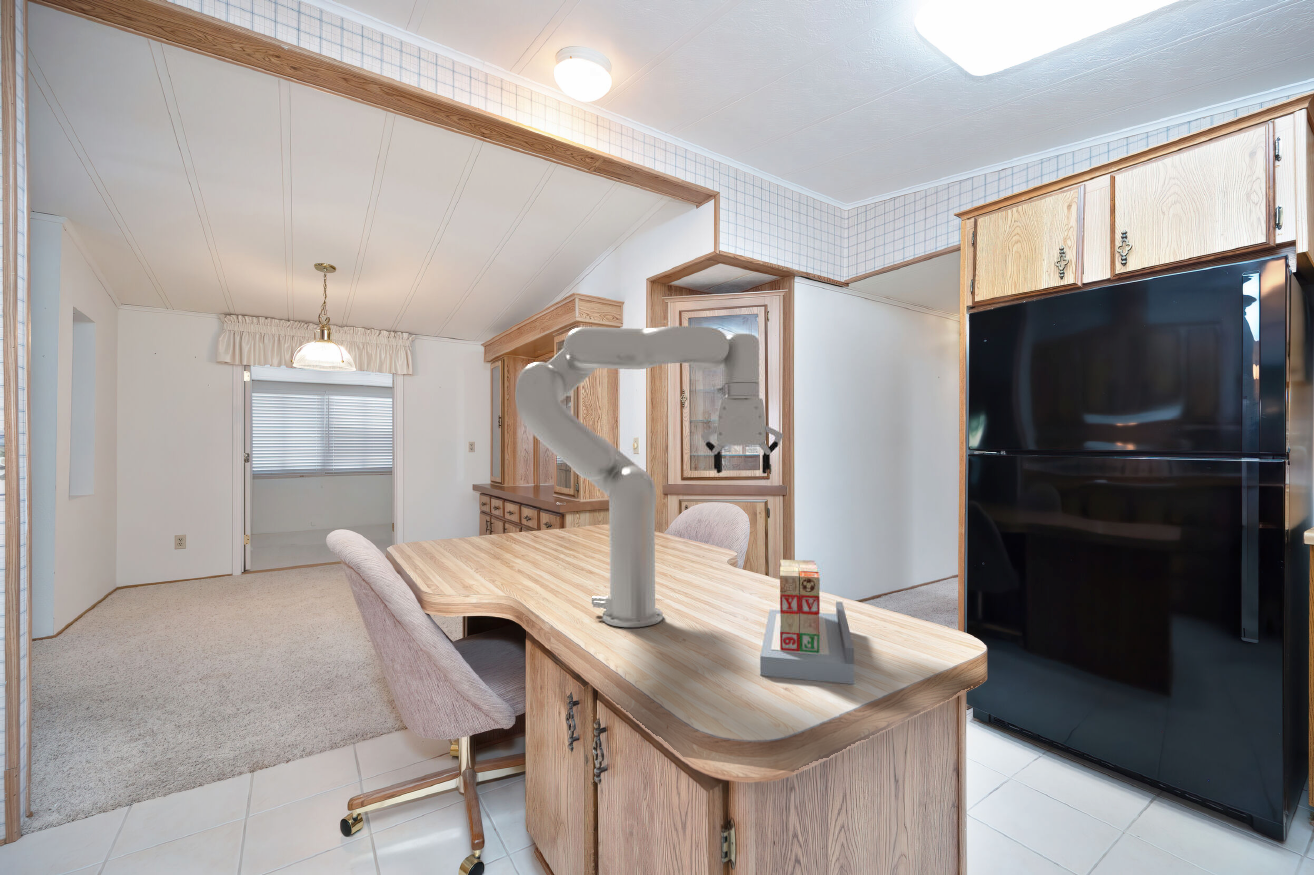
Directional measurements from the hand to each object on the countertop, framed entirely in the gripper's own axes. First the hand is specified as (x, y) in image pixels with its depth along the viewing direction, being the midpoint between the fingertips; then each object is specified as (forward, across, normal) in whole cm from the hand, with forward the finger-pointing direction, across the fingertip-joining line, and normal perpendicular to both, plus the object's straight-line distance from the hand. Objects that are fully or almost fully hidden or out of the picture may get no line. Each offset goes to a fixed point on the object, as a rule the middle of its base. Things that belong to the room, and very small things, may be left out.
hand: (741, 473), depth 121 cm
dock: (+30, +13, -18) cm, 37 cm away
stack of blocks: (+27, +12, -17) cm, 34 cm away
